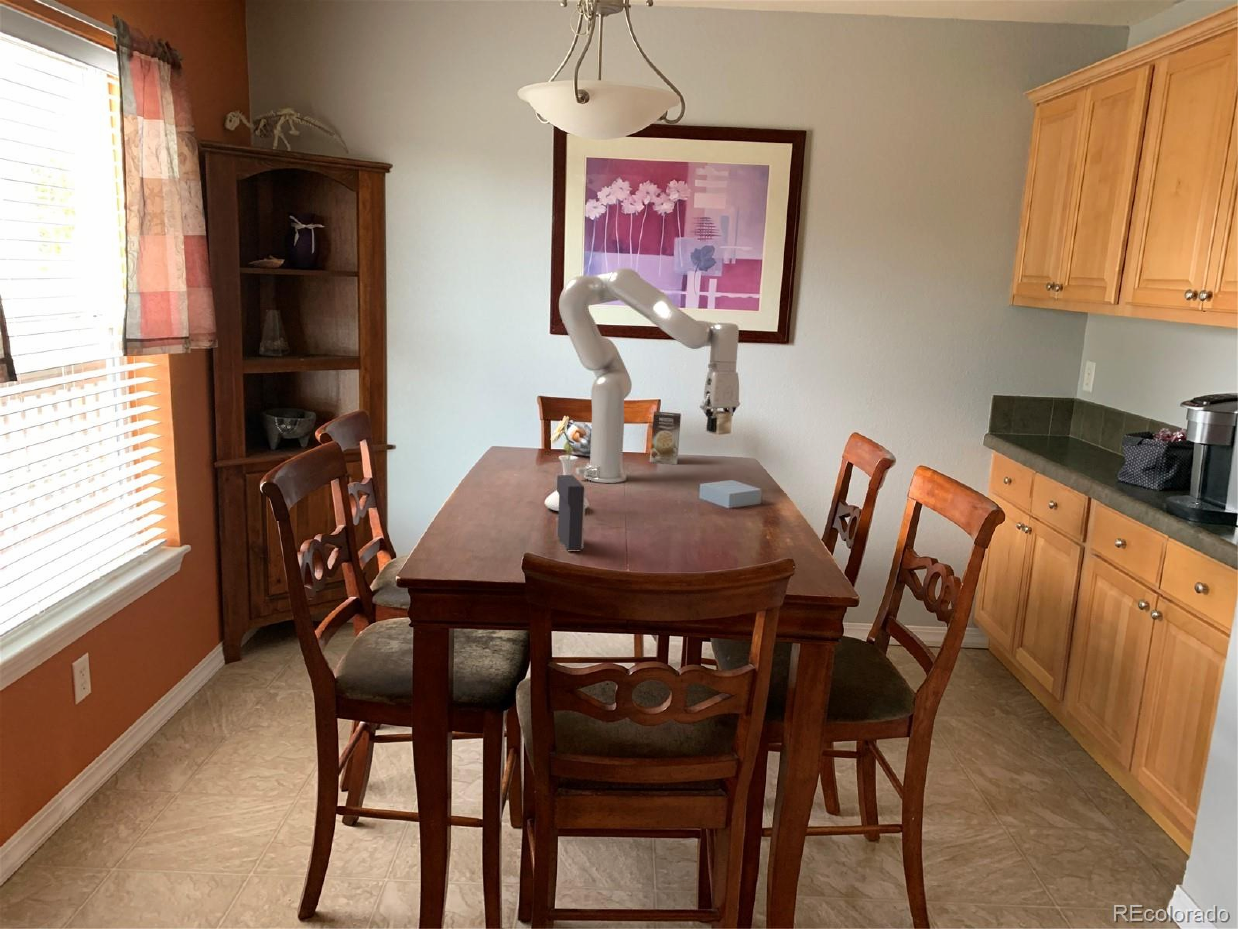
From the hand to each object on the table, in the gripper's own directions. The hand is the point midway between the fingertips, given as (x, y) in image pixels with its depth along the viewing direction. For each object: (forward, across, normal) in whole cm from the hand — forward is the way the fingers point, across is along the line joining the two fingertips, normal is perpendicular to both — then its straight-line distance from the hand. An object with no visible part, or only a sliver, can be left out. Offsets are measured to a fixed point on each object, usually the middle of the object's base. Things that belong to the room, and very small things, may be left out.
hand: (718, 430), depth 261 cm
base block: (+18, -5, -11) cm, 22 cm away
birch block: (+1, 0, 0) cm, 1 cm away
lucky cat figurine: (+18, -7, +55) cm, 58 cm away
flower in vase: (+18, -52, +1) cm, 55 cm away
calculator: (+18, -67, -24) cm, 74 cm away
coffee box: (+18, +11, +36) cm, 42 cm away
